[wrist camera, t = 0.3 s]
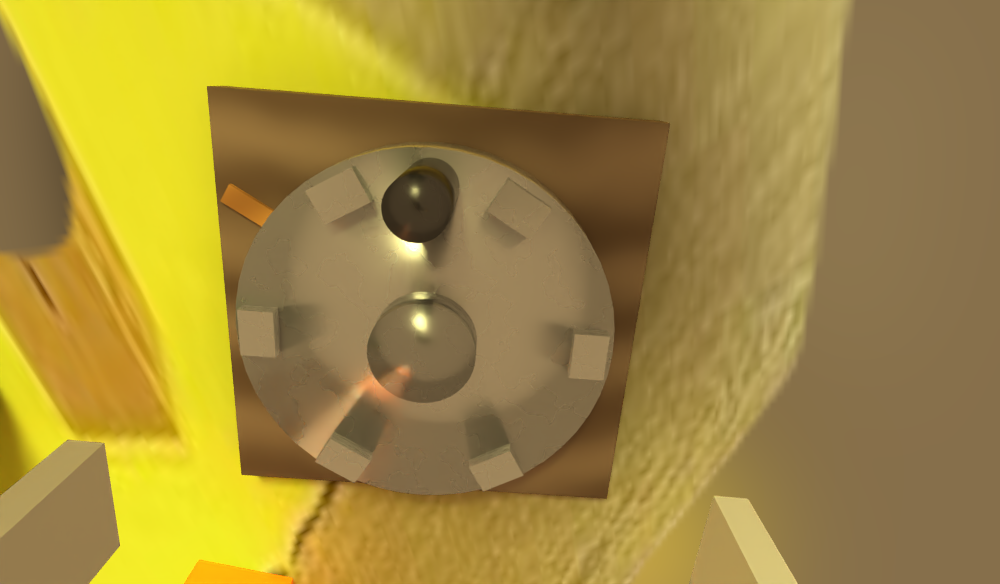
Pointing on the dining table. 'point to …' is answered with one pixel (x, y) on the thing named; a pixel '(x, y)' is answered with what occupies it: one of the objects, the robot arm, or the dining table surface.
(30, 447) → the dining table surface
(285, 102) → the base plate
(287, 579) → the orange juice
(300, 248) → the crank wheel
